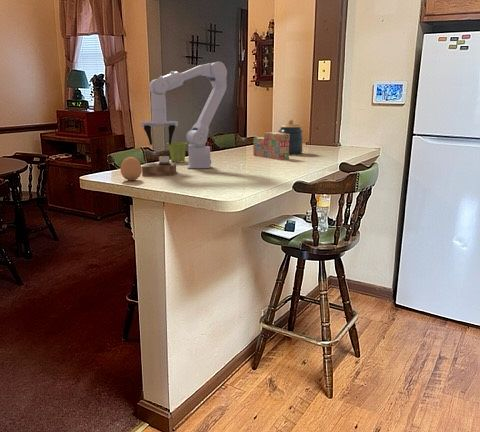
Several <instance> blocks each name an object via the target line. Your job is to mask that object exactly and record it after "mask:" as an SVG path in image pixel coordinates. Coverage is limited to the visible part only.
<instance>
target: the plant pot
mask: <svg viewBox="0 0 480 432" xmlns="http://www.w3.org/2000/svg"><path fill="white" fill-rule="evenodd" d="M166 145H167V147H168V149H169V150H168V151H169V158H170V161H175V162H174V163H182V162H181V161H184V162H185V160H186V159H185V158H186V149H187V145H188V142H184V141H182V142H181V141H179V142H171V145H169V142H167V143H166Z"/></svg>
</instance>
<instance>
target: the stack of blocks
mask: <svg viewBox="0 0 480 432" xmlns="http://www.w3.org/2000/svg"><path fill="white" fill-rule="evenodd" d="M289 138H290V134H285V133H279V132H275V131H274V132H271V131H270V132H269V131H268V132H264V133H263V136H261V137H259V136H258V137H253V138H252V144H253V154H252V155H253V156H254V155H255V157H260V158H266V159H272V160H280V161H281V160H288V159H290V154H289Z"/></svg>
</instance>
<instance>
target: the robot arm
mask: <svg viewBox="0 0 480 432" xmlns="http://www.w3.org/2000/svg"><path fill="white" fill-rule="evenodd" d="M227 75H228V70H227V68H226V65H225V63H223V62H222V61H215V62H209V63H205V64H200V65H197V66H195V67H193V68H190V69H188V70H186V71H183V72H178V71H174V70H172V71H170V72H169V73H168V74H166V75H160V76H159V77H158V78H156V79H152V80H150V82H149V85H148V90H149V92H150V96H151V97H150V103H151V104H150V105H151V121H150V120H149V121H146V120H145V121H140V127H142V128H143V130H144V132H145V133H146V136H147V138H148V143H149V145H150V146H152V145H153V138H152V136H153V135H152V127H168V143H169V145H171V143H172V139H173V135H174V132H175V129H176V127H178V126H179V121H177V120H169V121H168V120H167V100H166V92H168V91H171V90H173V89H176V88H180V87H181V86H183V84H184V81H187V80H190V79H192V78H193V79H194V78H195V77H198V76H202V77H206V79H208V81H209V82H210V84H211V86H212V89H211V92H210V94H209V96H208V98H207V100H206V102H205V104H204V107H203V108H202V110H201V113H200V115H199V117H198V119H197V121H196V122H195V123H194V124H193V125H192V127H191V129H190V130H188V131H187V133H186V136H185V137H186V138H185V139H186V141H187V143H188V144H187V147H188V165H187V168H186V169H211V165H212V159H211V146H207V145H206V143H207V142H208V135H209V131H210V128H209V126H210V124H211V123H212V120H213V118H214V116H215V114H216V112H217V110H218V107H219V106H220V103H221V101H222V99H223V97H224V95H225V93H226V90H227V88H228V87H227V83H228V82H227Z"/></svg>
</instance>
